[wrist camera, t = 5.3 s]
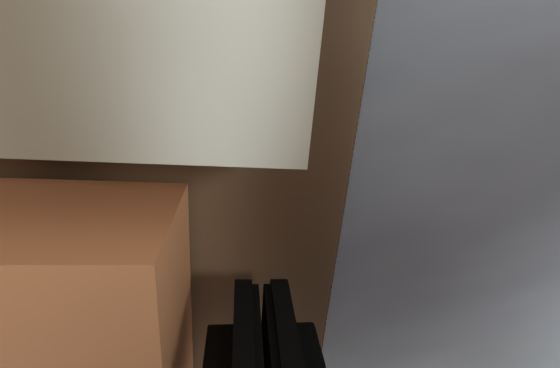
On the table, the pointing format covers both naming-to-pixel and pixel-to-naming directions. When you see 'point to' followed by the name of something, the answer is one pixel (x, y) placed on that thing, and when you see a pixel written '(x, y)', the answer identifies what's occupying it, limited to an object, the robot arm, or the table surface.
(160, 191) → the tan box with slot
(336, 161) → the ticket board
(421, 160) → the table surface
